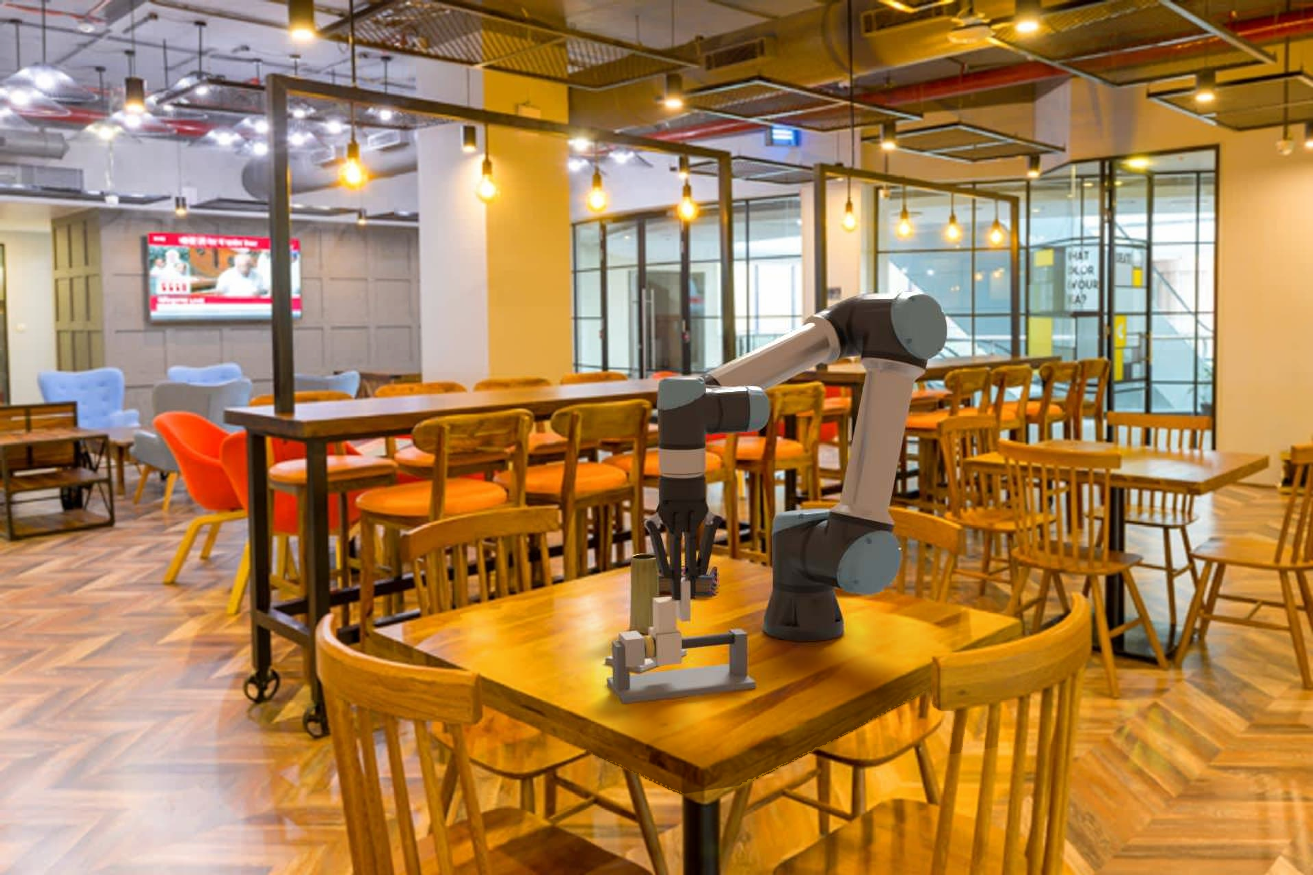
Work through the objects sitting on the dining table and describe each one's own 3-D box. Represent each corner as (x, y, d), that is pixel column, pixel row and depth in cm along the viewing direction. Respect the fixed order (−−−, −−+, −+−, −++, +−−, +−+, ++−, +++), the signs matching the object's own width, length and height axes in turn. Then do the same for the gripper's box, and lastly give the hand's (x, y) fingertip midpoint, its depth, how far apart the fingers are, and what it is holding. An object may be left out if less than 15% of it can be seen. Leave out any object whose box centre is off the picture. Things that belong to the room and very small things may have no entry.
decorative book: (652, 583, 248) (651, 561, 248) (723, 585, 246) (723, 563, 245) (643, 595, 237) (642, 573, 237) (717, 598, 235) (717, 575, 234)
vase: (667, 628, 211) (666, 555, 209) (645, 635, 206) (644, 561, 205) (644, 623, 215) (643, 551, 213) (622, 629, 210) (621, 556, 209)
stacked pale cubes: (672, 654, 180) (671, 594, 179) (681, 663, 175) (681, 602, 174) (648, 657, 179) (648, 597, 178) (657, 665, 174) (657, 604, 173)
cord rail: (732, 669, 186) (732, 616, 185) (755, 687, 177) (755, 631, 176) (607, 683, 180) (606, 628, 179) (623, 703, 170) (622, 645, 169)
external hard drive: (605, 665, 191) (651, 648, 200) (640, 675, 185) (686, 657, 195) (604, 656, 190) (651, 639, 200) (640, 666, 185) (686, 648, 195)
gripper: (712, 469, 180) (713, 609, 183) (636, 473, 176) (638, 617, 179) (728, 475, 173) (729, 621, 175) (650, 479, 169) (652, 629, 172)
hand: (683, 619), depth 177 cm, fingers closed
